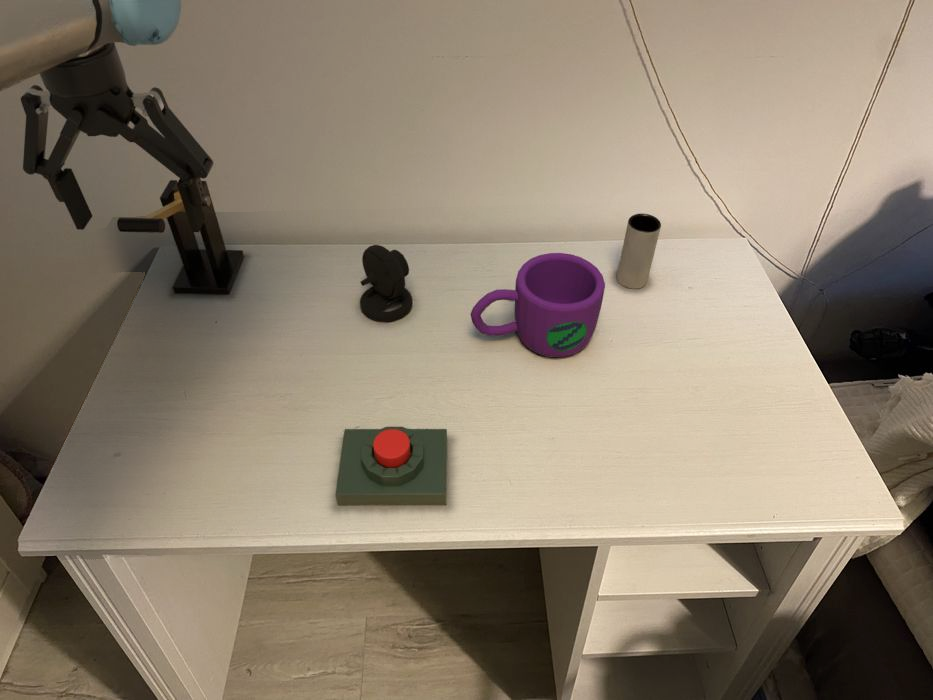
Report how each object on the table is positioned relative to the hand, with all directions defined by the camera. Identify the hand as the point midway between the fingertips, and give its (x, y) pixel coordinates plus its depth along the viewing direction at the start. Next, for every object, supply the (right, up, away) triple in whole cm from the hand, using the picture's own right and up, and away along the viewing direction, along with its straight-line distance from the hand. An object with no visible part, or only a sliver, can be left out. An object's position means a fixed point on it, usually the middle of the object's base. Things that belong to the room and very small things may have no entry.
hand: (142, 224), depth 84 cm
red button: (+30, -26, -5) cm, 40 cm away
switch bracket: (0, -4, +22) cm, 22 cm away
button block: (+30, -29, -2) cm, 42 cm away
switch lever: (0, +2, +7) cm, 7 cm away
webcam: (+27, -9, +18) cm, 33 cm away
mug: (+48, -13, +13) cm, 51 cm away
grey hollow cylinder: (+63, -4, +22) cm, 67 cm away
